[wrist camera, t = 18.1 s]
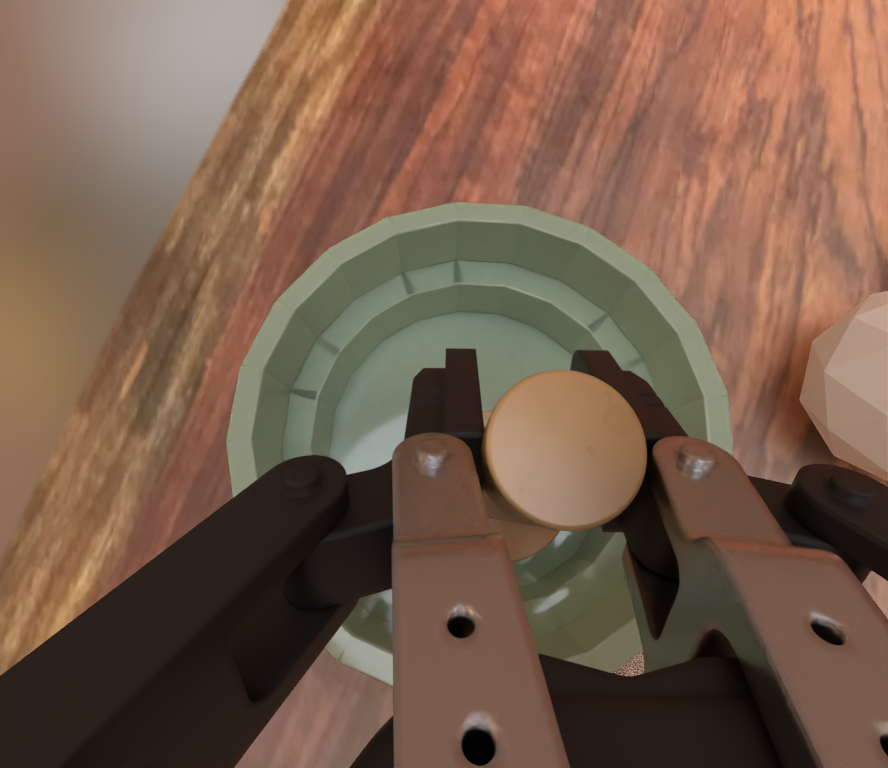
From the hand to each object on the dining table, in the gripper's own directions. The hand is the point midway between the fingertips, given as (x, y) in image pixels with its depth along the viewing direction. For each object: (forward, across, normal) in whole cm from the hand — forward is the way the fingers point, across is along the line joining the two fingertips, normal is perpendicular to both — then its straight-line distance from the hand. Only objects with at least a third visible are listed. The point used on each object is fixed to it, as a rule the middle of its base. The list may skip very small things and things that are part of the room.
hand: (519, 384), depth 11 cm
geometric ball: (+8, -16, +6) cm, 19 cm away
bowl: (+6, +1, +7) cm, 9 cm away
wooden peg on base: (+4, 0, +7) cm, 8 cm away
